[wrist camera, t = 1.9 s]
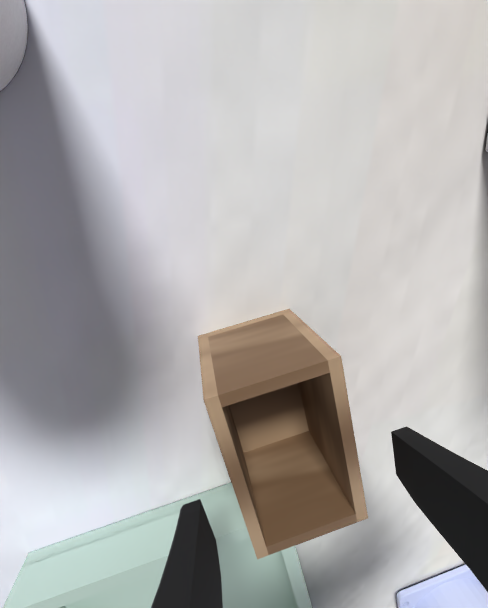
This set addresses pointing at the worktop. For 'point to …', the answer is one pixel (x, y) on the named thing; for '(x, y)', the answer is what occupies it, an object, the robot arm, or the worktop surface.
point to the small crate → (283, 429)
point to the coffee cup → (12, 38)
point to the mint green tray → (156, 563)
